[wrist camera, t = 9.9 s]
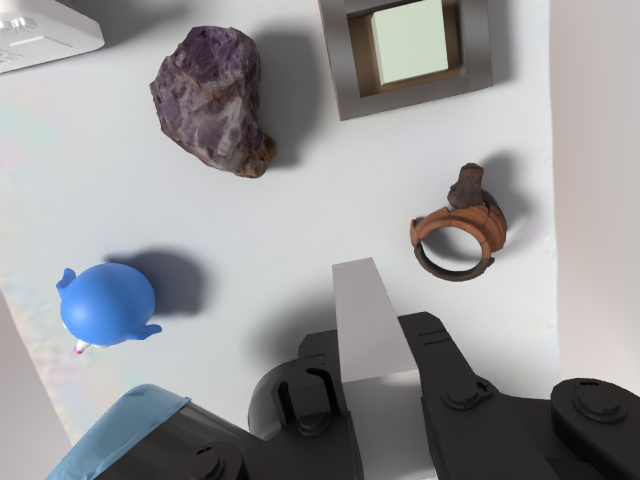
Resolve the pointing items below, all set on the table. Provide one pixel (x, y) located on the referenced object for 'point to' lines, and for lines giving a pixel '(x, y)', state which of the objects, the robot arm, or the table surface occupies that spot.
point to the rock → (215, 101)
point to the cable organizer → (43, 33)
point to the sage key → (409, 41)
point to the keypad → (370, 97)
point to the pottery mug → (464, 223)
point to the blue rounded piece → (107, 305)
